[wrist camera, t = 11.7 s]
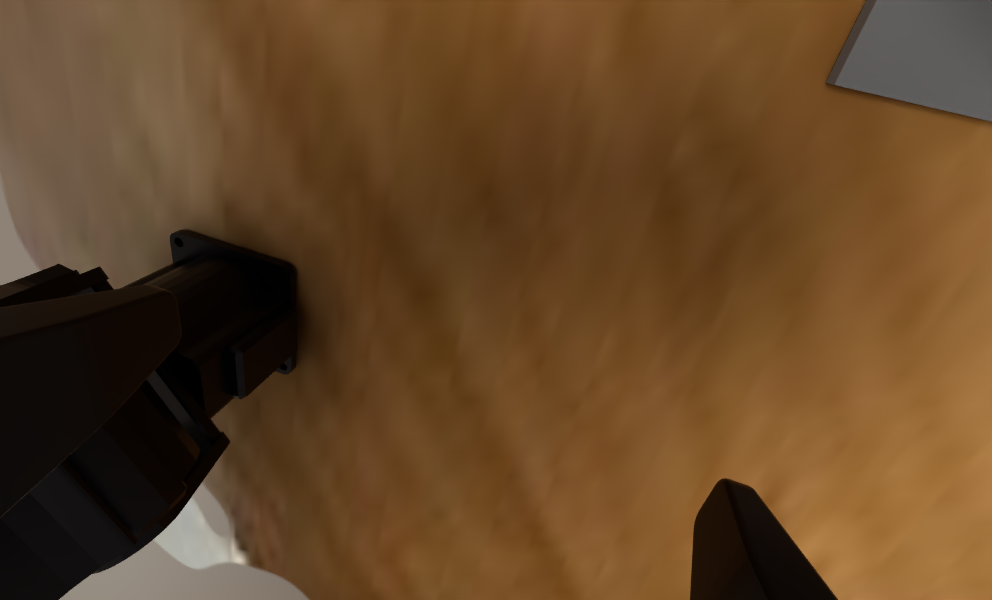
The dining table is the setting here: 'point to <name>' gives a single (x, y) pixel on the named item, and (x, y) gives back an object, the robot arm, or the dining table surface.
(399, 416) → the dining table surface
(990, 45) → the rubber mat
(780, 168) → the dining table surface
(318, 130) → the dining table surface
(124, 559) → the robot arm
